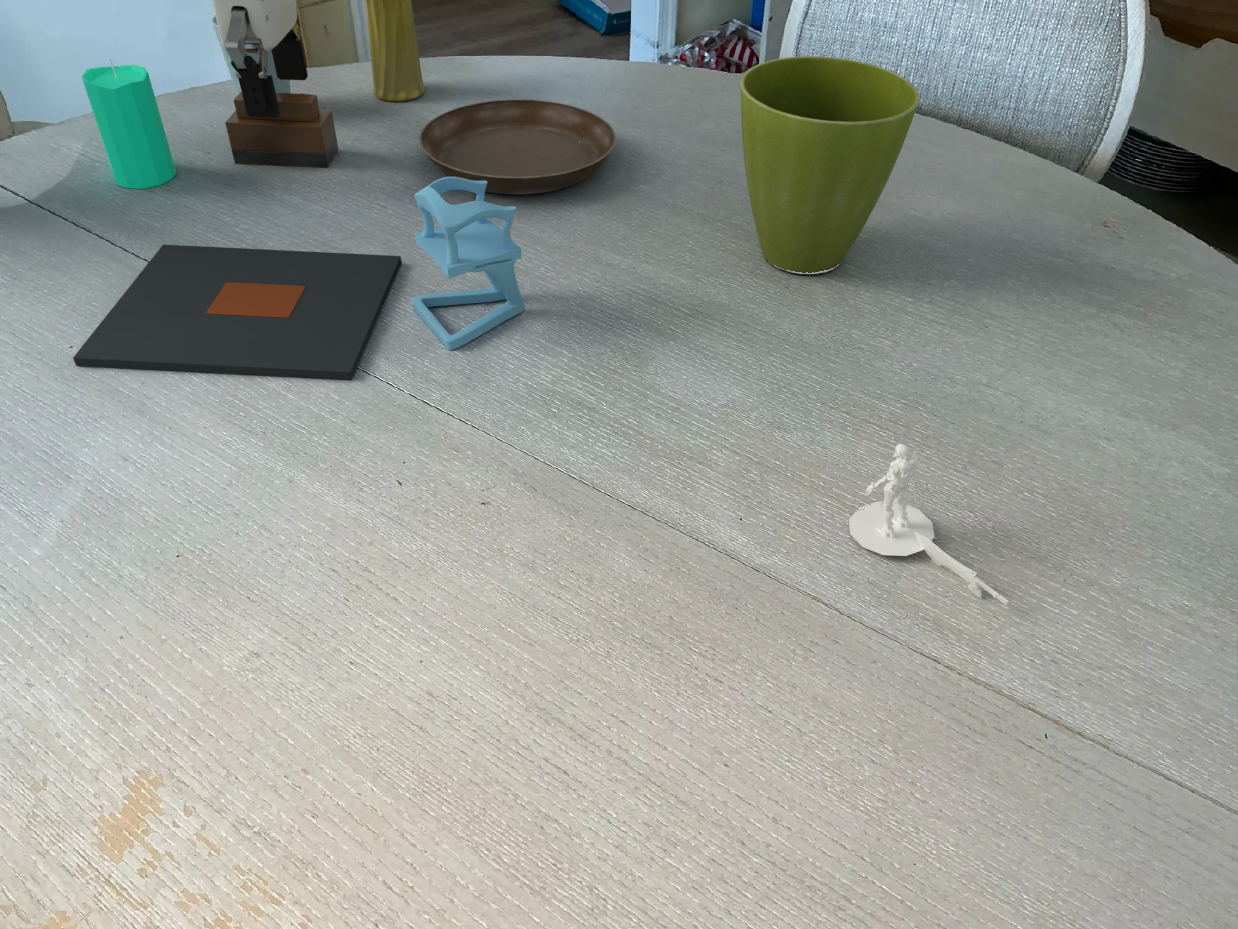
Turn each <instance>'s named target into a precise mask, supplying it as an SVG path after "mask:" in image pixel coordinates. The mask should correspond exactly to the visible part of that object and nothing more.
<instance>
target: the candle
mask: <svg viewBox="0 0 1238 929" xmlns="http://www.w3.org/2000/svg"><path fill="white" fill-rule="evenodd" d="M108 59H109V62H110V65H108V66H97V67H91V68H86V69H85V71H84V72H83V74H82V75H81V80H82V83H83V86H84V89H85V92H86V96H87V98H88V102H89V105H90V107H91V110H92V114H93V116H94V120H95V123H96V126H97V130H98V131H99V135H100V138H101V141H102V144H103V148H104V150H105V153H106V156H107V159H108V162H109V165H110V168H111V172H112V174H113V177H114V178H113V179H114V180H115V183H116V184H117V186H120V187H123V188H126V189H139V190H140V189H141V190H142V189H143V190H144V189H148V188H153V187H159V186H162V185H163V184H166V183H168V182H169V181H171V180H173V179H174V177H175V176H176V174H177V170H176V166H175V163H174V159H173V155H172V152H171V149H170V145H169V142H168V138H167V134H166V131H165V128H164V122H163V121H162V117H161V116H162V115H161V112H160V110H159V106H158V103H157V99H156V96H155V92H154V89H153V84H152V82H151V77H150V74H149V71H148V69H147V68H146V67H144V66H141V65H137V64H123V65H114V64H113V61H112V57H108Z"/></svg>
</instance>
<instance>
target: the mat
mask: <svg viewBox="0 0 1238 929" xmlns="http://www.w3.org/2000/svg"><path fill="white" fill-rule="evenodd" d="M401 265H402V256H401V255H387V254H370V253H369V254H367V253H348V252H346V253H345V252H329V251H328V252H327V251H308V250H307V251H306V250H305V251H304V250H286V249H264V248H245V247H223V246H201V245H184V244H183V245H181V244H161V246H160V248H159V249H158V250H157V251H156V252H155V254H154V255H153V257H151V258H150V260H149V261H148V263H147V264H146V265H145V267H144V268H143V269H142V270H141V271H140V273H139V274H138V275H137V276H136V278H135V279H134V280H133V281H132V283H131V284H130V285H129V286H128V287H127V289H126V291H125V292H124V293H123V294H122V296H121V297H120V298H119V299H118V301H117V302H116V303H115V304H114V305H113V307H112V308H111V309H110V310H109V312H108V313H107V314H106V316H105V317H104V318H103V319H102V321H101V322H100V323H99V324H98V326H97V327H95V329H94V331H93V332H92V333H91V334H90V335H89V337H88V338H87V339H86V341H85V342H84V343H83V344H82V345H81V347H80V348H79V349H78V351H77V352H76V353H75V354H74V356H73V357H72V360H73V362H74V365H75V366H76V367H93V368H94V367H95V368H111V369H112V368H114V369H115V368H116V369H134V370H151V371H152V370H154V371H172V372H190V373H191V372H192V373H209V374H230V375H248V376H249V375H251V376H269V377H285V378H286V377H289V378H308V379H309V378H310V379H327V380H347V381H352V380H353V379H354V376H355V374H356V372H357V369H358V367H359V365H360V362H361V360H362V357H363V355H364V352H365V350H366V348H367V346H368V344H369V341H370V338H371V337H372V334H373V331H374V329H375V327H376V324H377V322H378V320H379V318H380V315H381V313H382V310H383V308H384V306H385V303H386V300H387V299H388V297H389V294H390V292H391V289H392V287H393V285H394V282H395V280H396V279H397V278H396V277H397V275H398V273H399V271H400V269H401V267H402V266H401Z"/></svg>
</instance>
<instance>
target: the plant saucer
mask: <svg viewBox="0 0 1238 929" xmlns="http://www.w3.org/2000/svg"><path fill="white" fill-rule="evenodd" d="M418 138H419V145H420V147H421V149H422V151H423V152H424V154H425V155H426V156H427V158H428V159H429V160H430V161H431V163H432V164H433V165H434V166H435V167H436V168H438V169H439V171H441V172H443V173H444V174H445V175H446V176H447V177H459V178H464V179H468V180H474V181H487V186H486V189H485V192H488V193H492V194H493V193H494V194H500V195H534V194H535V195H536V194H542V193H549V192H554V191H557V190H561V189H564V188H567V187H570V186H572V185H574V184H577V183H579V182H581V181H582V180H585V179H586V178H587V177H589V176H590V175H591V174H593V173H594V172H595V171H596V170H598V168H600V166H602V164H603V163H604V162H605V161H606V160H607V158H608V157H609V156H610V154H611V153H612V151H613V149H614V147H615V145H616V142H617V136H616V132H615V130H614V129H613V127H612V126H611V124H610V123H609V122H608V121H606V120H605V119H604V118H603V117H600V116H599V115H597V114H595V113H593V112H592V111H589V110H586V109H584V108H582V107H581V108H580V107H578V106H574V105H570V104H565V103H561V102H555V101H549V100H541V99H527V98H526V99H525V98H523V99H522V98H510V99H496V100H495V99H494V100H487V101H486V100H485V101H480V102H475V103H470V104H466V105H462V106H459V107H455V108H453V109H450V110H447V111H444V112H442V113H441V114H439V115H437V116H435V117H434V118H432V119H431V120H429V121H428V122H427V123H426V124H425V125H424V127H423V128H422V129H421V131H420V134H419V137H418ZM579 142H580V143H579Z"/></svg>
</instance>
